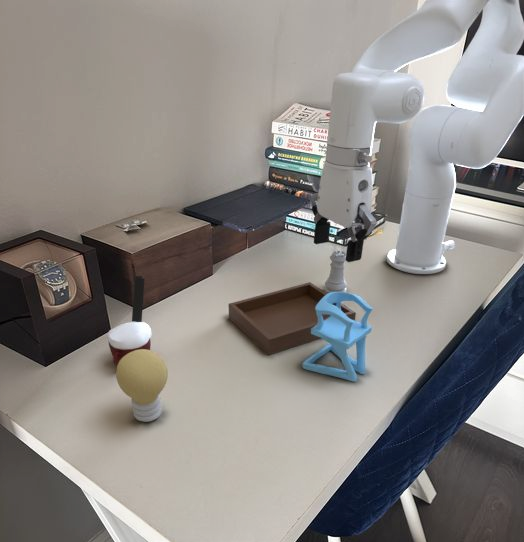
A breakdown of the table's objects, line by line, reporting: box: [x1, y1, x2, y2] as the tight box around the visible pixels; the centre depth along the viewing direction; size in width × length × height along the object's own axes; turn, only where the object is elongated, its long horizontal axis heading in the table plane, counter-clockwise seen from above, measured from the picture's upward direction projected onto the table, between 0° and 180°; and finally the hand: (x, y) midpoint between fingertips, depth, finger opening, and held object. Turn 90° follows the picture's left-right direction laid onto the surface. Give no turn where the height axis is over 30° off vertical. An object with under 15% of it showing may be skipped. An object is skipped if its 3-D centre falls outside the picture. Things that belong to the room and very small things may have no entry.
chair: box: [302, 291, 374, 383], centre depth 75 cm, size 8×8×12 cm
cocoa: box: [106, 275, 153, 366], centre depth 77 cm, size 10×6×12 cm, turn 140°
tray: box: [228, 281, 357, 356], centre depth 89 cm, size 18×14×3 cm
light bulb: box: [115, 349, 169, 423], centre depth 66 cm, size 6×6×10 cm
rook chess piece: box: [323, 249, 347, 294], centre depth 98 cm, size 4×4×8 cm
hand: (336, 251), depth 96 cm, fingers open, 9 cm apart
